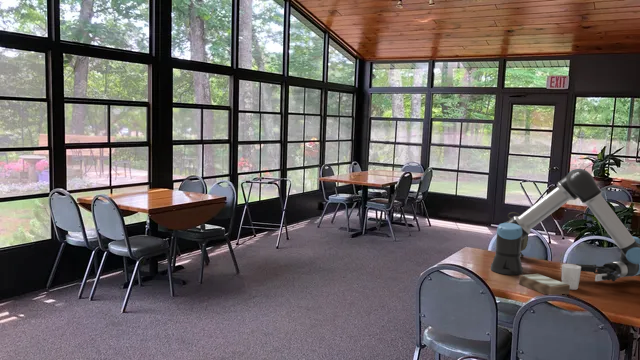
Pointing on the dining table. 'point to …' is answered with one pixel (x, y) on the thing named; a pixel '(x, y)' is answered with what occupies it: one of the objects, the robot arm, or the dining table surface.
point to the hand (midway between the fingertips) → (582, 273)
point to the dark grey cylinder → (523, 241)
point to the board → (544, 284)
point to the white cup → (571, 275)
